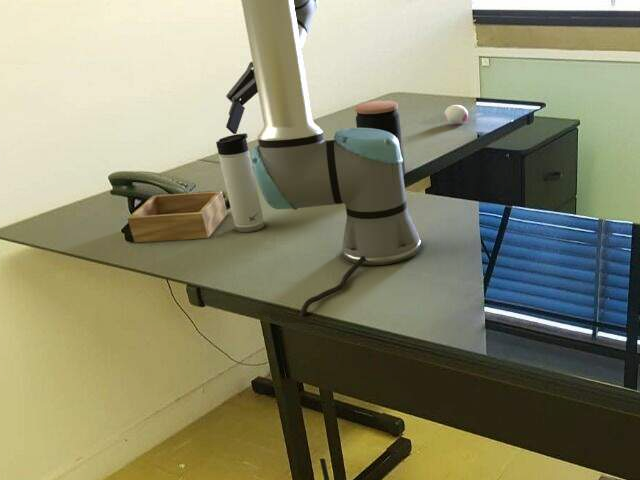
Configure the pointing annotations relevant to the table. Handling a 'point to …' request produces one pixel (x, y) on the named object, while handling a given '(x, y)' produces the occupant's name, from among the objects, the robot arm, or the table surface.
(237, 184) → the travel mug
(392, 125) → the coffee jar
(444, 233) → the table surface
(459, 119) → the stress ball
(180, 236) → the crate
